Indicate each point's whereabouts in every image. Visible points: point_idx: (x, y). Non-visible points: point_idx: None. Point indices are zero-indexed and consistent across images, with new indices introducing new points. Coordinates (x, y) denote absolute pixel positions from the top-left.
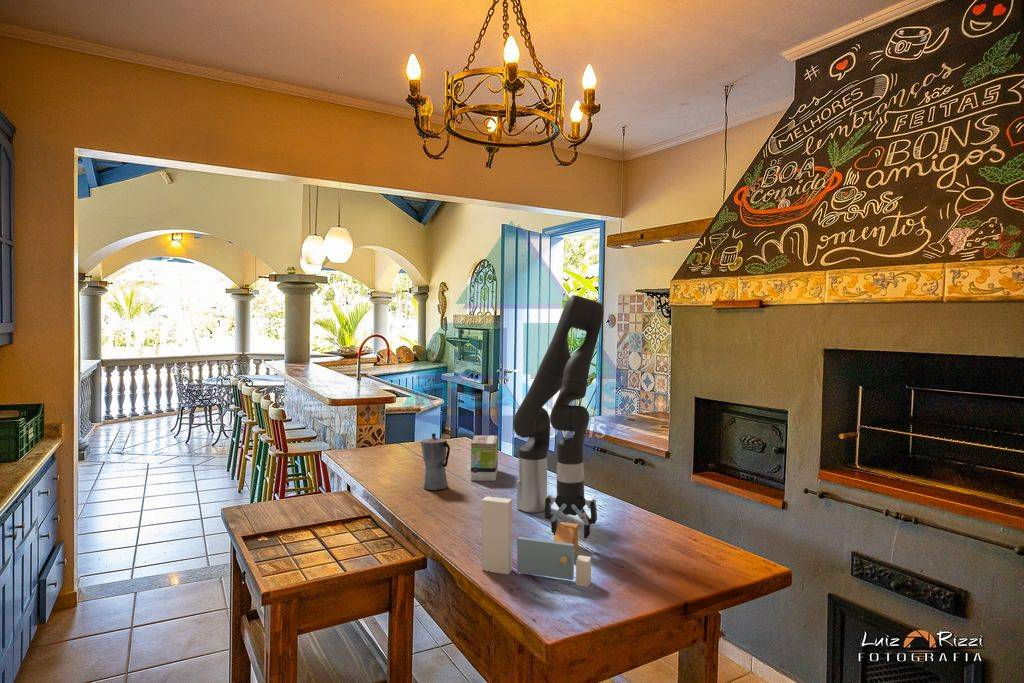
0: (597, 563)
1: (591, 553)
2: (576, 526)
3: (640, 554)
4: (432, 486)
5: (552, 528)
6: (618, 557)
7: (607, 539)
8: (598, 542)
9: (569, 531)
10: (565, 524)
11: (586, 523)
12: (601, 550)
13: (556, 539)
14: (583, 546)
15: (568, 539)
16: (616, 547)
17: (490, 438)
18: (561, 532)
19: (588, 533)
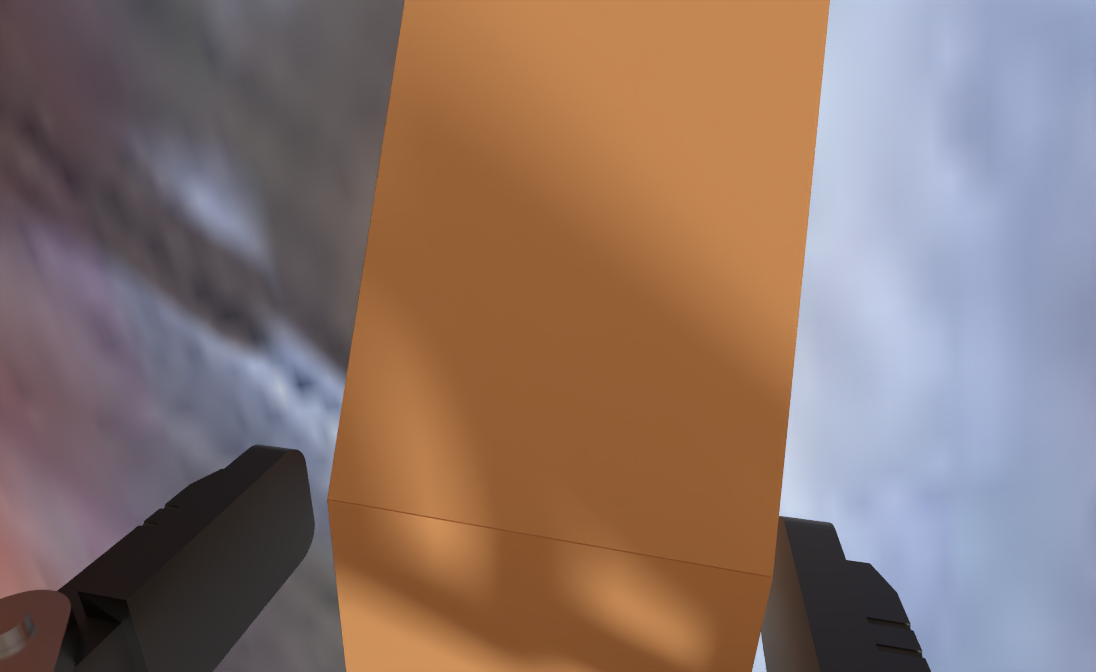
0: (122, 3)
1: (281, 293)
2: (346, 635)
3: None
4: None
5: (884, 630)
6: (5, 253)
7: (248, 640)
8: (301, 574)
9: (446, 429)
10: None
11: (8, 620)
12: (212, 394)
13: (735, 173)
14: None
15: (455, 198)
16: (116, 485)
17: None
18: (634, 393)
19: (185, 498)
